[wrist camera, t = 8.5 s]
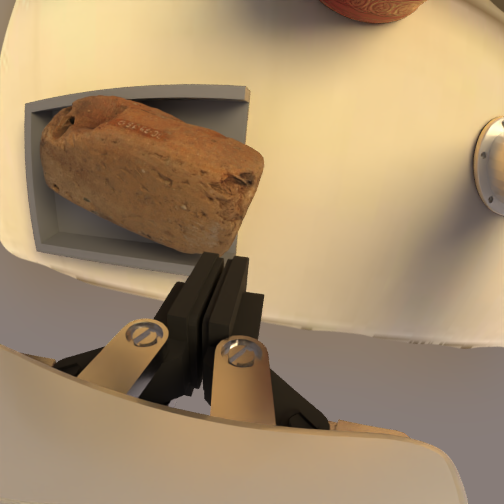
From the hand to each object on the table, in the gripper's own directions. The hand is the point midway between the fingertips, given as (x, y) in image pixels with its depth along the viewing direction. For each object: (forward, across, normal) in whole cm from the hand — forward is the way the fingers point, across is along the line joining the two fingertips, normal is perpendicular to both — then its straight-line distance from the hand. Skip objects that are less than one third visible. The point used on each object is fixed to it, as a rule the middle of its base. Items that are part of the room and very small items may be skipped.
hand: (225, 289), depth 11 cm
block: (+15, +1, +2) cm, 16 cm away
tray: (+20, +14, 0) cm, 25 cm away
